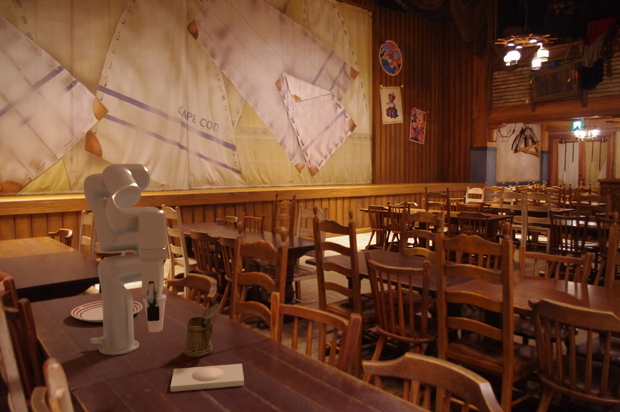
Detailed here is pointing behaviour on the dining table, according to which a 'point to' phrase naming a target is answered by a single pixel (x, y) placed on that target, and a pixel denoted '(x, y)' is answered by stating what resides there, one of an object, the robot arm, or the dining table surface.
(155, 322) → the smoothie
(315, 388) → the dining table surface
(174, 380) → the serving board
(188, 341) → the wooden mug
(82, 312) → the dinner plate
